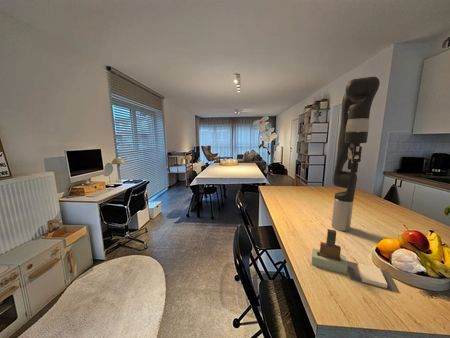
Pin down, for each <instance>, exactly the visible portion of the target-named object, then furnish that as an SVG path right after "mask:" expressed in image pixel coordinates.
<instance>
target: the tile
mask: <svg viewBox="0 0 450 338" xmlns="http://www.w3.org/2000/svg"><path fill="white" fill-rule="evenodd" d="M357 267H358V270H359V273H360V276H361V280H362V282H365V283H369V284H372V285H376V286H379V287H383V288H387V283H386V280H385V278H384V276H383V274H382V272H381V270H380V269H381V268H380V267H377V266H373V265H368V264H362V263H360V262H358V266H357ZM379 287H378V288H379Z"/></svg>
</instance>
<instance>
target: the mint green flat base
mask: <svg viewBox="0 0 450 338" xmlns="http://www.w3.org/2000/svg"><path fill="white" fill-rule="evenodd" d="M319 254H320V249H318V248H313V247H312V252H311V263H310V264H311V266H316V267H320V268H323V269H326V270H331V271H333V272H336V273H340V274H345V275H347V274H348V265H347V261H348V260H347V257H346V256H347V255H344V254H343V255H342V254H340V260H339V261H337V260H333V259H329V258H325V257H321V256H319Z"/></svg>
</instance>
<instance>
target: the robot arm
mask: <svg viewBox="0 0 450 338" xmlns="http://www.w3.org/2000/svg"><path fill="white" fill-rule="evenodd" d="M380 86H381V85H380V79H379V78H378V77H377V76H368V77H359V78H353V79H351V80H349V81H348V82H347V84H346V85H345V90H344V91H345V93H344V95H343V96H342V101H341V113H340V114H341V115H340V116H341V118H340V127H339V134H338V142H337V150H336V151H337V155H336V162H335V167H334V172H333V178H332V179H333V180H332V183H333V186H335V187H339V188H344V189H346V190H345V191H339V192H335V193H334V200H333V208H332V209H333V210H332V219H331V227H332V228H333V230H336V231H340V232H349V231H350V230H351V226H352V225H351V224H352V216H353V208H354V199H355V193H356V187H357V182H358V175H357V173H358V171H359V170H358V169H359V163H361V162H362V161H361V160H362V159H361V158H362V149H363V146H362V145H361V144H367V142H368V137H369V130H370V129H369V128H370V115H371V107H372V105H373V102H374V99H375V96H376V95H377V93H378V90H379V89H380ZM346 163H347V170H350V171H346V170H343V169H344V166H345V164H346Z"/></svg>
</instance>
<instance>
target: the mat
mask: <svg viewBox="0 0 450 338" xmlns="http://www.w3.org/2000/svg"><path fill="white" fill-rule="evenodd" d="M358 263H359V262H358ZM358 263H357V262H354V261H348V260H347V265H348V268H347V271H348V273H349V274H348V275H349V279H350V280H351V281H354V282H357V283H361V284H364V285H368V286H372V287H376V288H379V289H382V290H386V291H390V292H393V293H397V294H401V292H400V290H399V288H398V286H397V284H396V282H395V279H393V277H392V275H391V273H390V271H389V272H387V271H388V270H385V269H383V268H382V269H381V268H380V270H381V272H382V274H383V276H384V278H385V280H386V283H387V288H383V287H379V286H376V285H372V284H369V283H365V282H362V280H361V276H360V273H359V270H358V267H357V266H358Z"/></svg>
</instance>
